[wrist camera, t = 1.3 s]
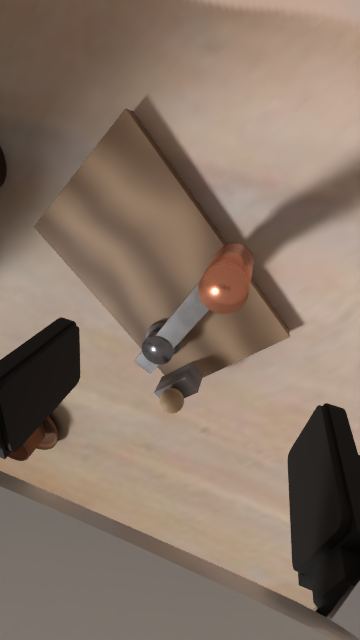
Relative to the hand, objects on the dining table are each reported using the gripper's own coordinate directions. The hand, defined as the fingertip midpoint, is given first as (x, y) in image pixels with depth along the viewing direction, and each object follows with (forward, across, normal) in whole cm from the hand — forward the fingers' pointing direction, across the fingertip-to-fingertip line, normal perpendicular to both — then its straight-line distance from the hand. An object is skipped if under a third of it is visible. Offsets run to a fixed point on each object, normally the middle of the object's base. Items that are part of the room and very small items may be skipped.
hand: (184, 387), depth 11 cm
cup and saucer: (+21, +28, +40) cm, 53 cm away
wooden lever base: (+21, +8, +5) cm, 23 cm away
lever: (+18, +3, +7) cm, 20 cm away
